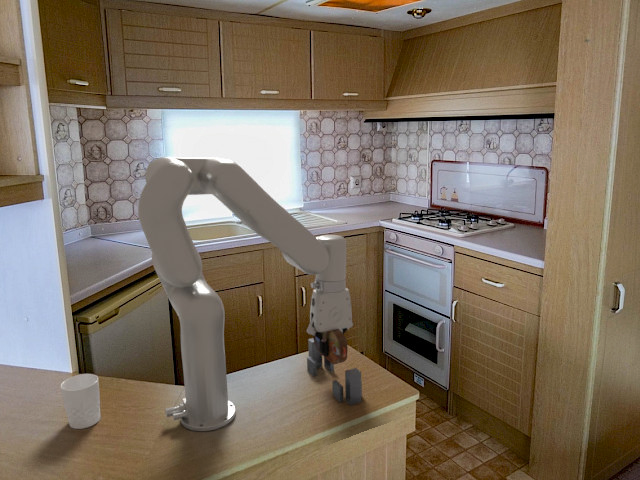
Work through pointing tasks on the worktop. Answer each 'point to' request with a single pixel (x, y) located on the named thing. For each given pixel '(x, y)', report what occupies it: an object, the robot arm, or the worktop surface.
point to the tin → (334, 346)
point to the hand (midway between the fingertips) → (329, 352)
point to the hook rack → (351, 380)
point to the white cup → (81, 400)
